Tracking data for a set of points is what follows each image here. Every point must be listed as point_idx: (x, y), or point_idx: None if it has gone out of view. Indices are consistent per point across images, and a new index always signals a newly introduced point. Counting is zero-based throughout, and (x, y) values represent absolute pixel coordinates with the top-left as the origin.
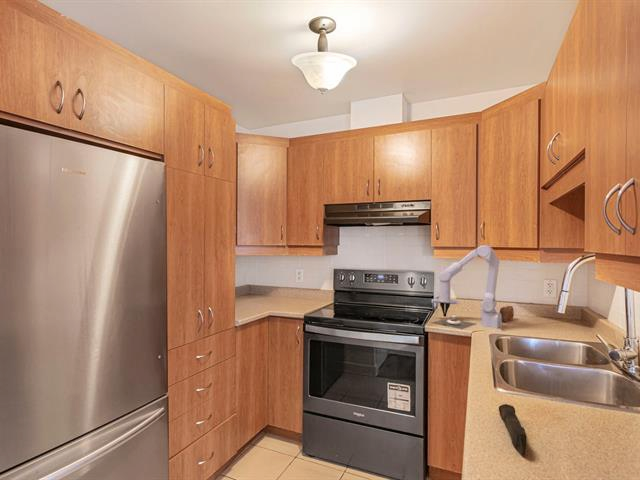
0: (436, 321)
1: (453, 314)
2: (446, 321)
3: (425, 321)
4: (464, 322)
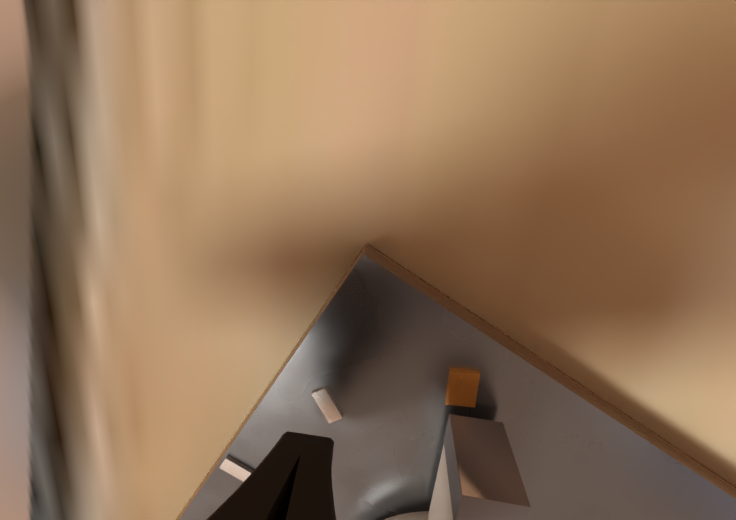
0: (194, 515)
1: (488, 501)
2: (340, 492)
3: (53, 390)
4: (626, 509)
